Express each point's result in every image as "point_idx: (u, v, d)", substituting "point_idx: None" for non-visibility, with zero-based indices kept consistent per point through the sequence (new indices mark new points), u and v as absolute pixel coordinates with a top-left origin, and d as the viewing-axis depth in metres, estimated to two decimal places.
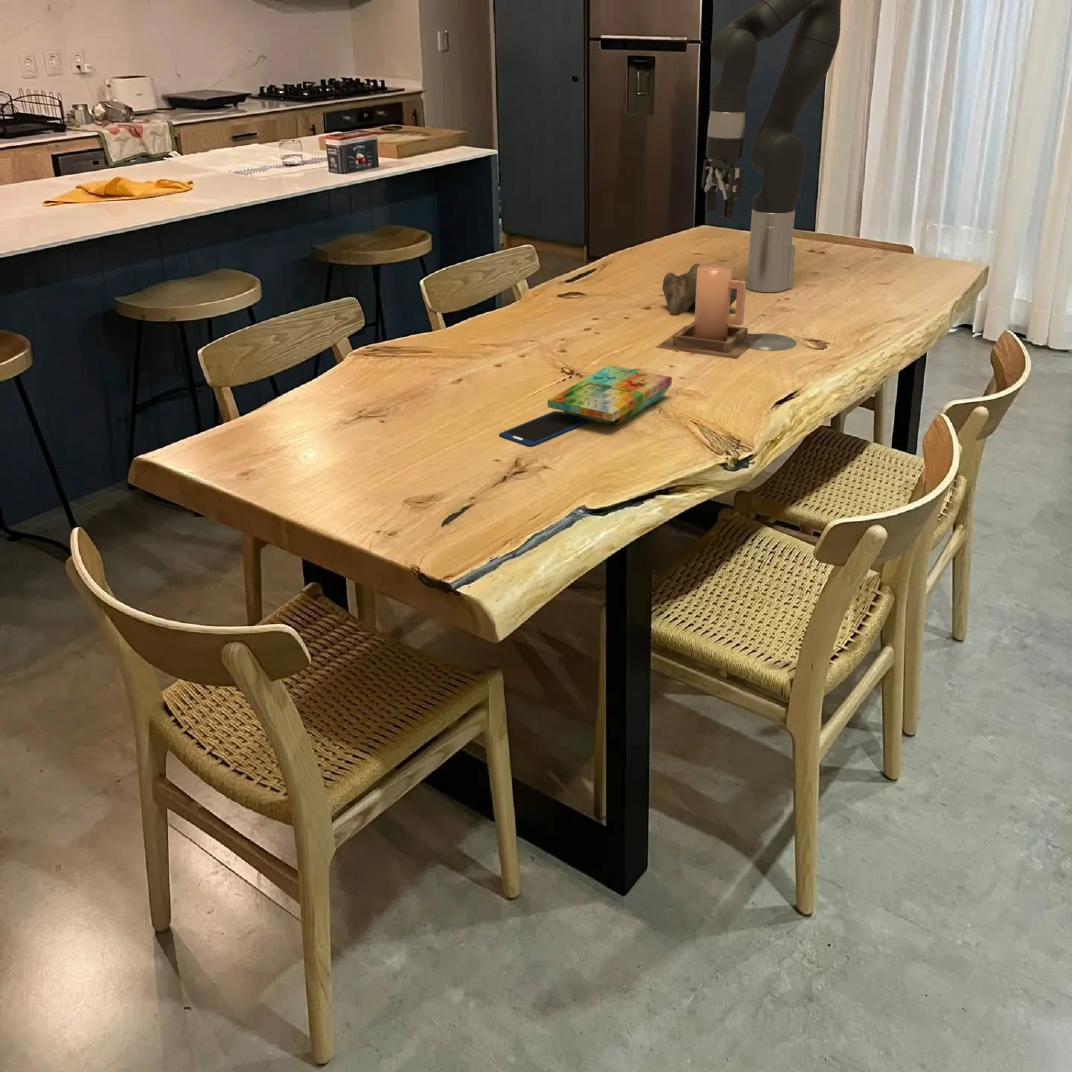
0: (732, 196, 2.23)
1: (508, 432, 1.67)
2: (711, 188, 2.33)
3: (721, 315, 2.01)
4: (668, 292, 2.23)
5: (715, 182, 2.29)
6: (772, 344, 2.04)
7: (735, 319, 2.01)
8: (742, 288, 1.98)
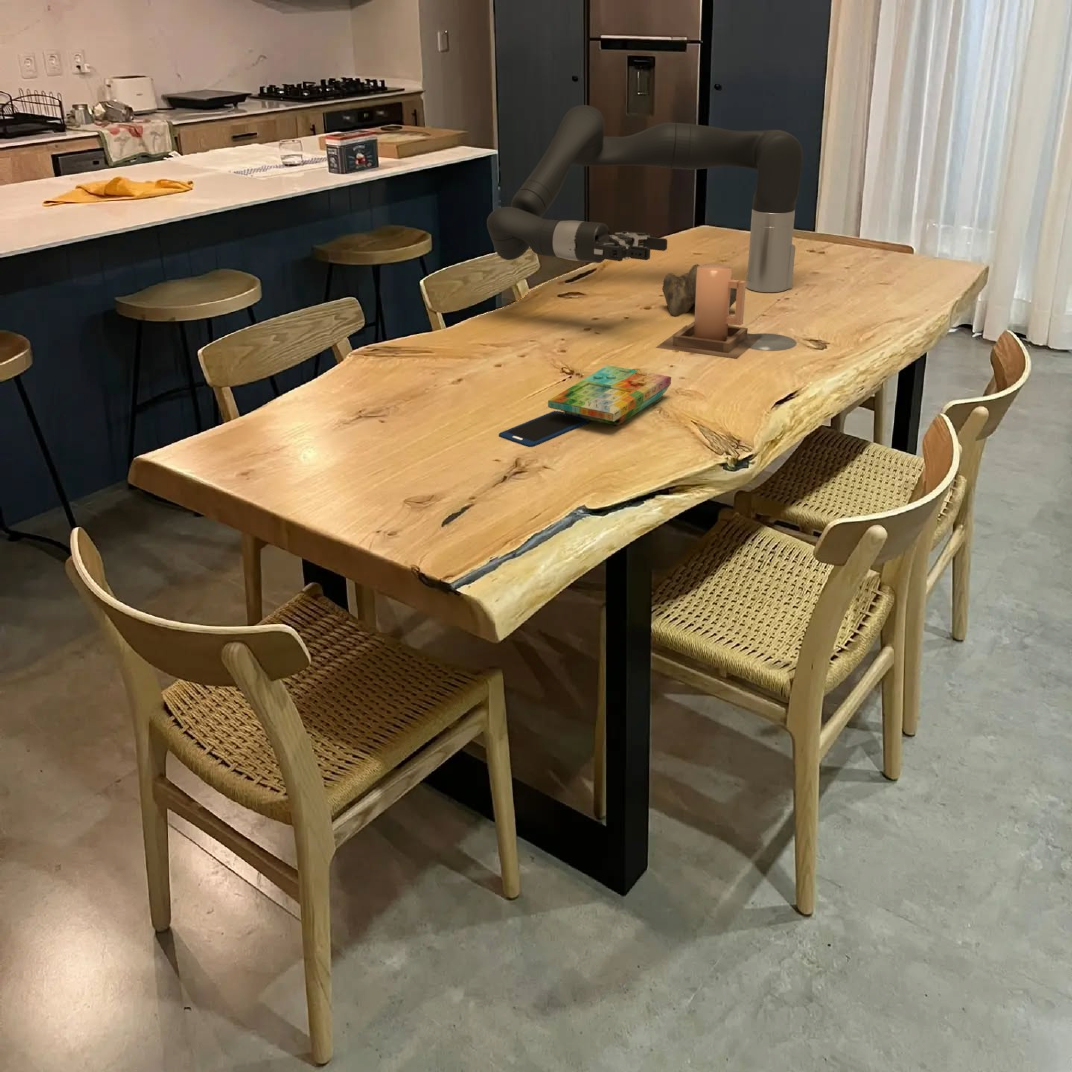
0: None
1: (508, 432, 1.67)
2: None
3: (721, 314, 2.01)
4: (668, 293, 2.23)
5: (625, 241, 2.05)
6: (772, 344, 2.04)
7: (735, 319, 2.01)
8: (742, 288, 1.98)
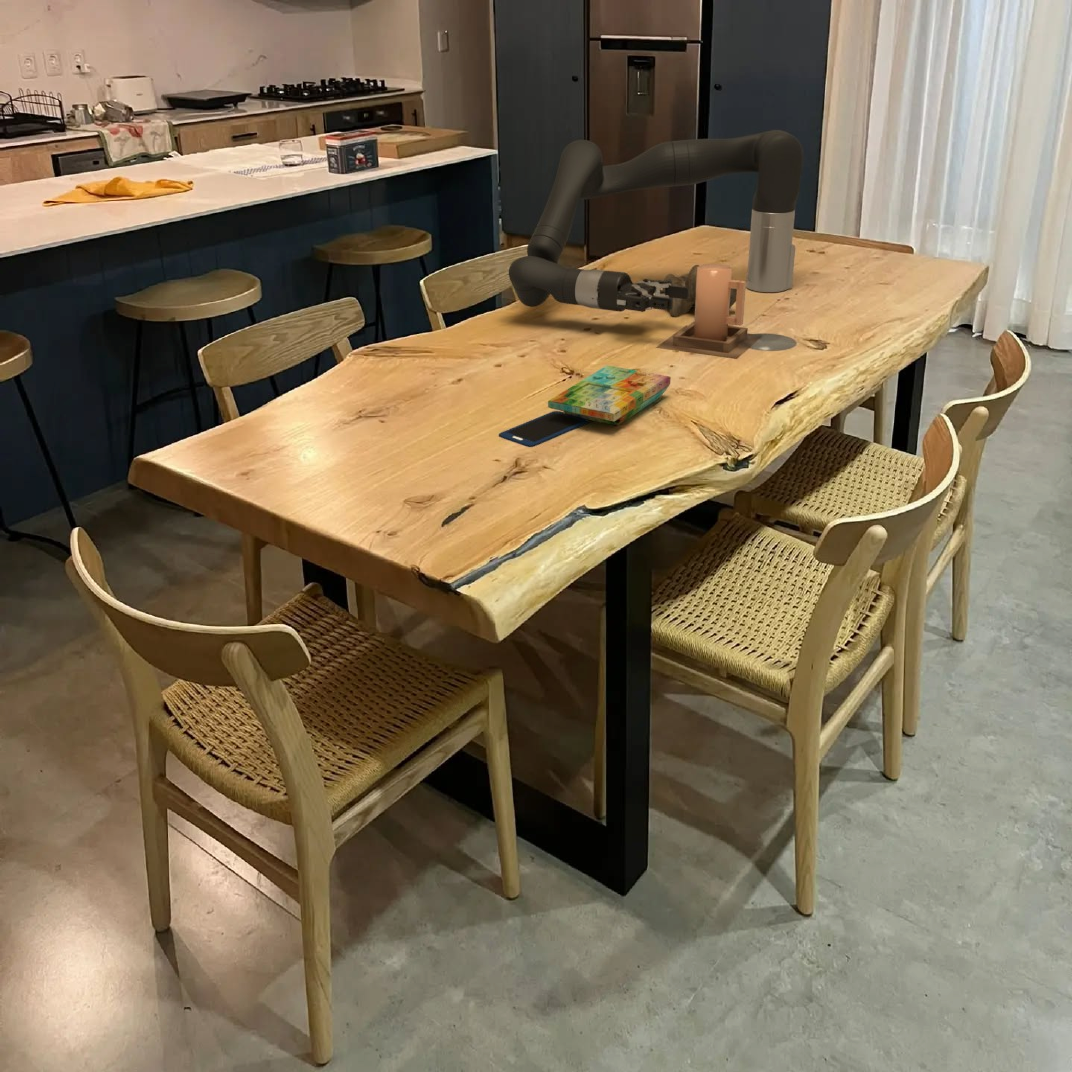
0: None
1: (508, 432, 1.67)
2: None
3: (721, 315, 2.01)
4: None
5: (647, 290, 2.07)
6: (772, 344, 2.04)
7: (735, 319, 2.01)
8: (742, 288, 1.98)
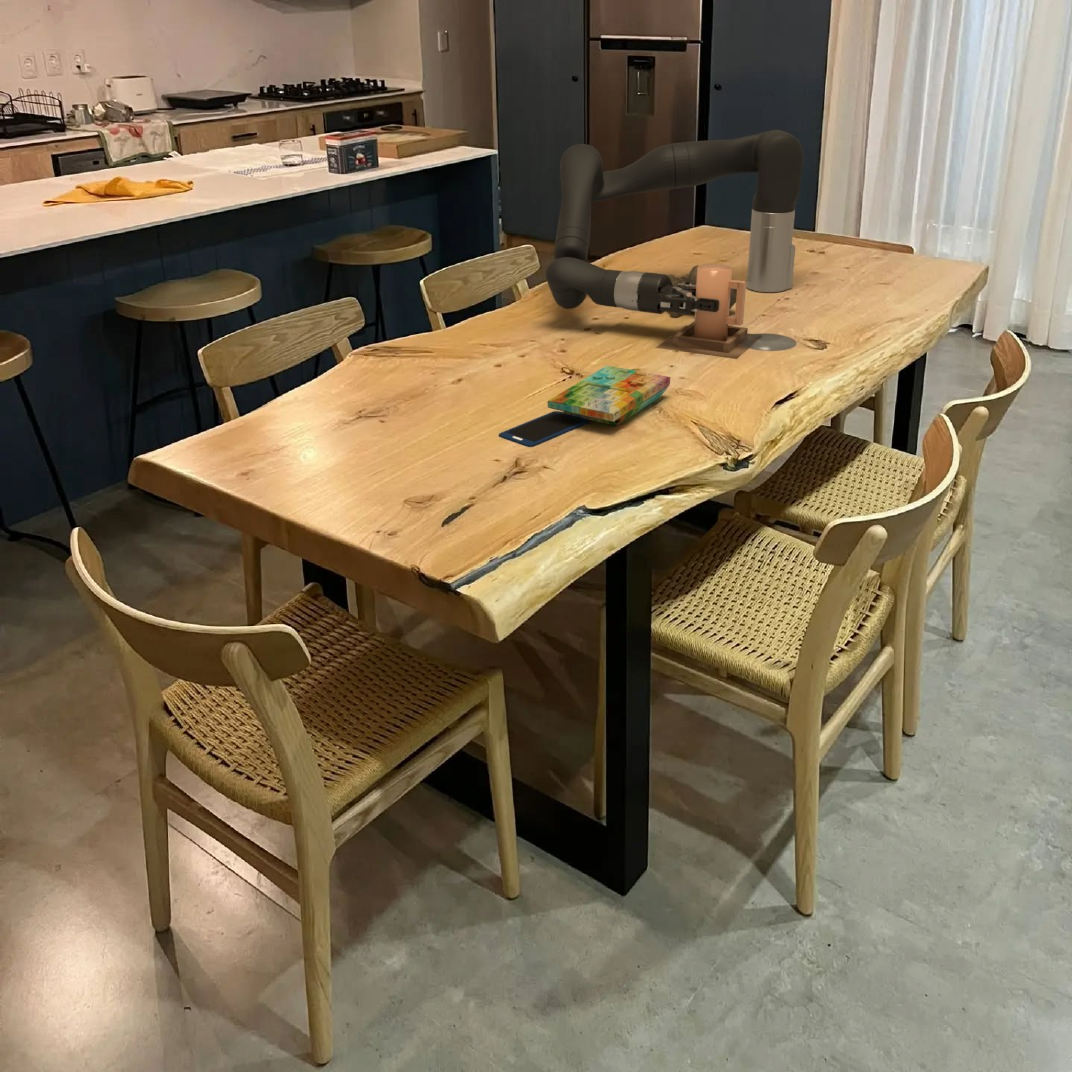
0: None
1: (508, 432, 1.67)
2: None
3: (721, 315, 2.01)
4: None
5: (688, 292, 2.04)
6: (772, 344, 2.04)
7: (735, 319, 2.01)
8: (742, 288, 1.98)
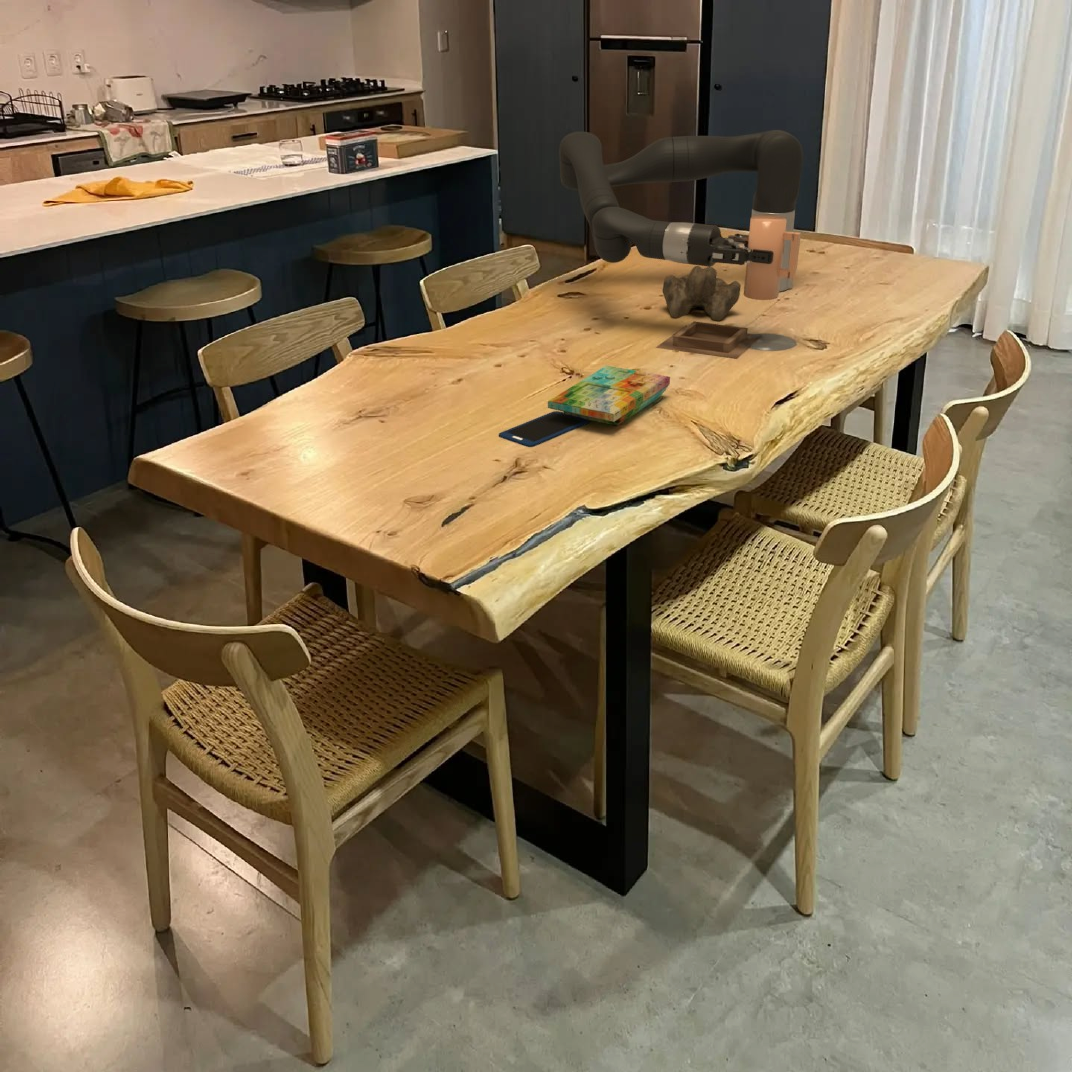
0: None
1: (508, 432, 1.67)
2: None
3: (774, 267, 1.96)
4: (669, 295, 2.21)
5: None
6: (772, 344, 2.04)
7: (788, 272, 1.96)
8: (797, 240, 1.93)
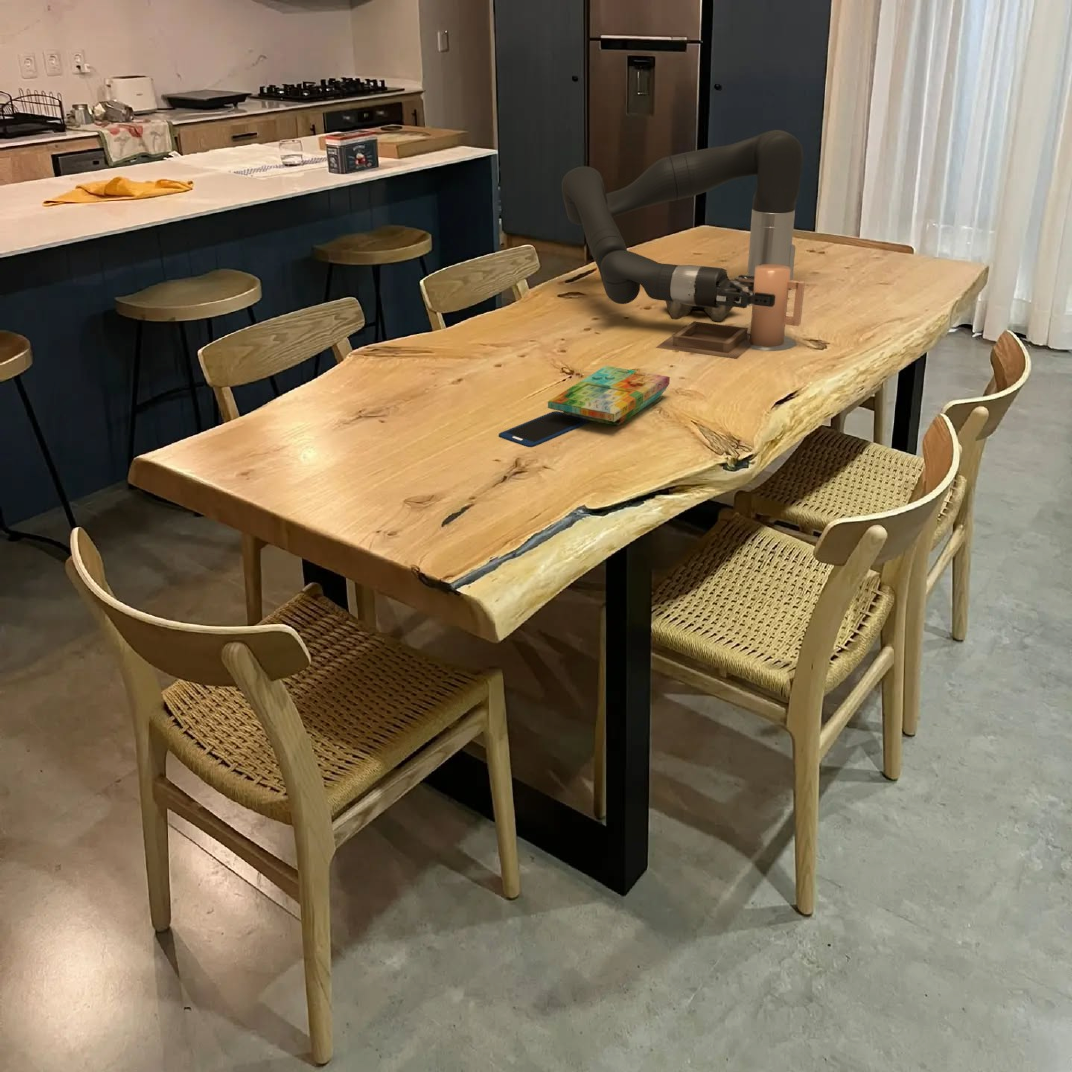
0: None
1: (508, 432, 1.67)
2: None
3: (779, 315, 2.00)
4: None
5: (746, 286, 2.02)
6: None
7: (793, 319, 2.00)
8: (801, 288, 1.97)
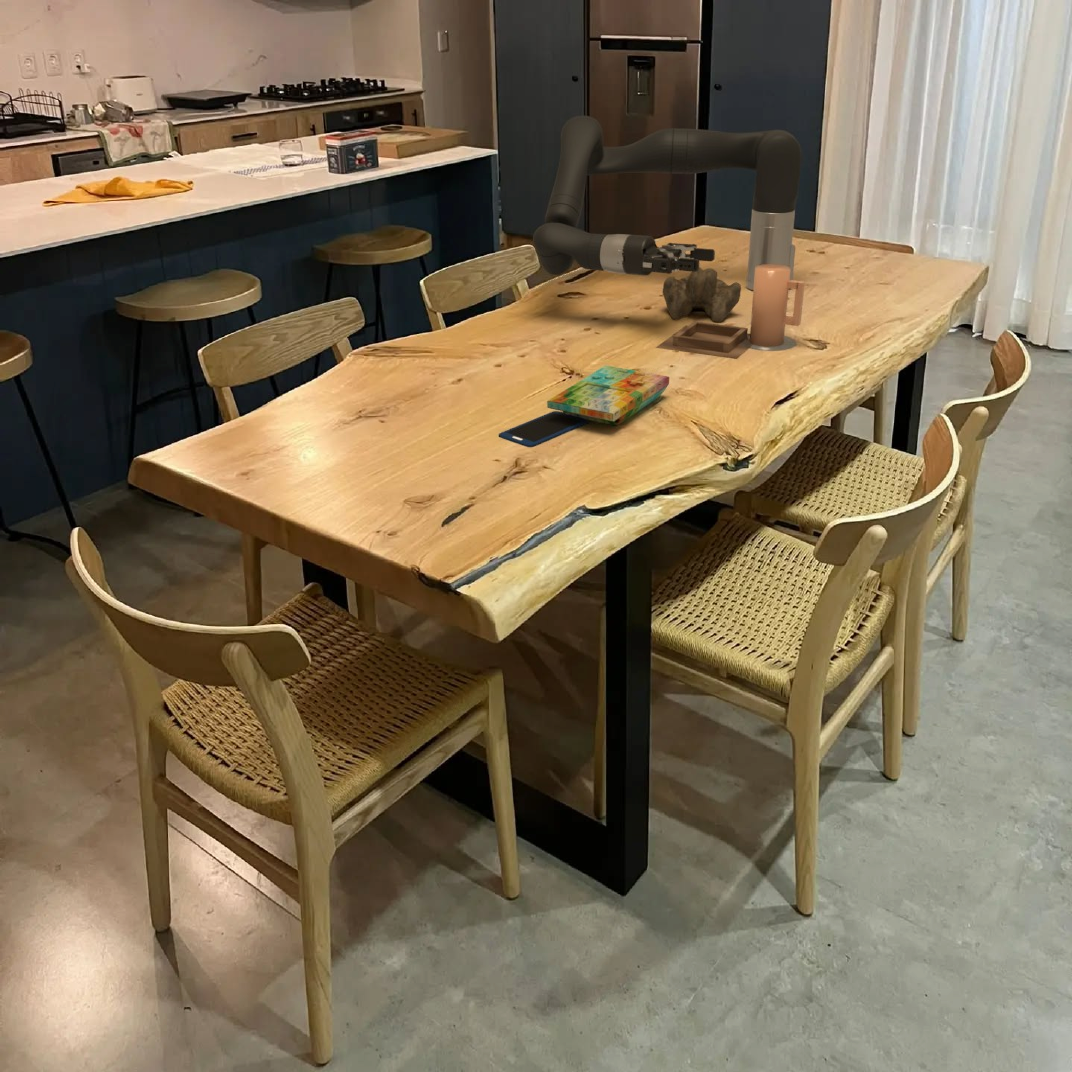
0: None
1: (508, 432, 1.67)
2: None
3: (778, 315, 2.00)
4: (669, 296, 2.21)
5: (673, 253, 2.06)
6: None
7: (793, 319, 2.00)
8: (801, 288, 1.97)
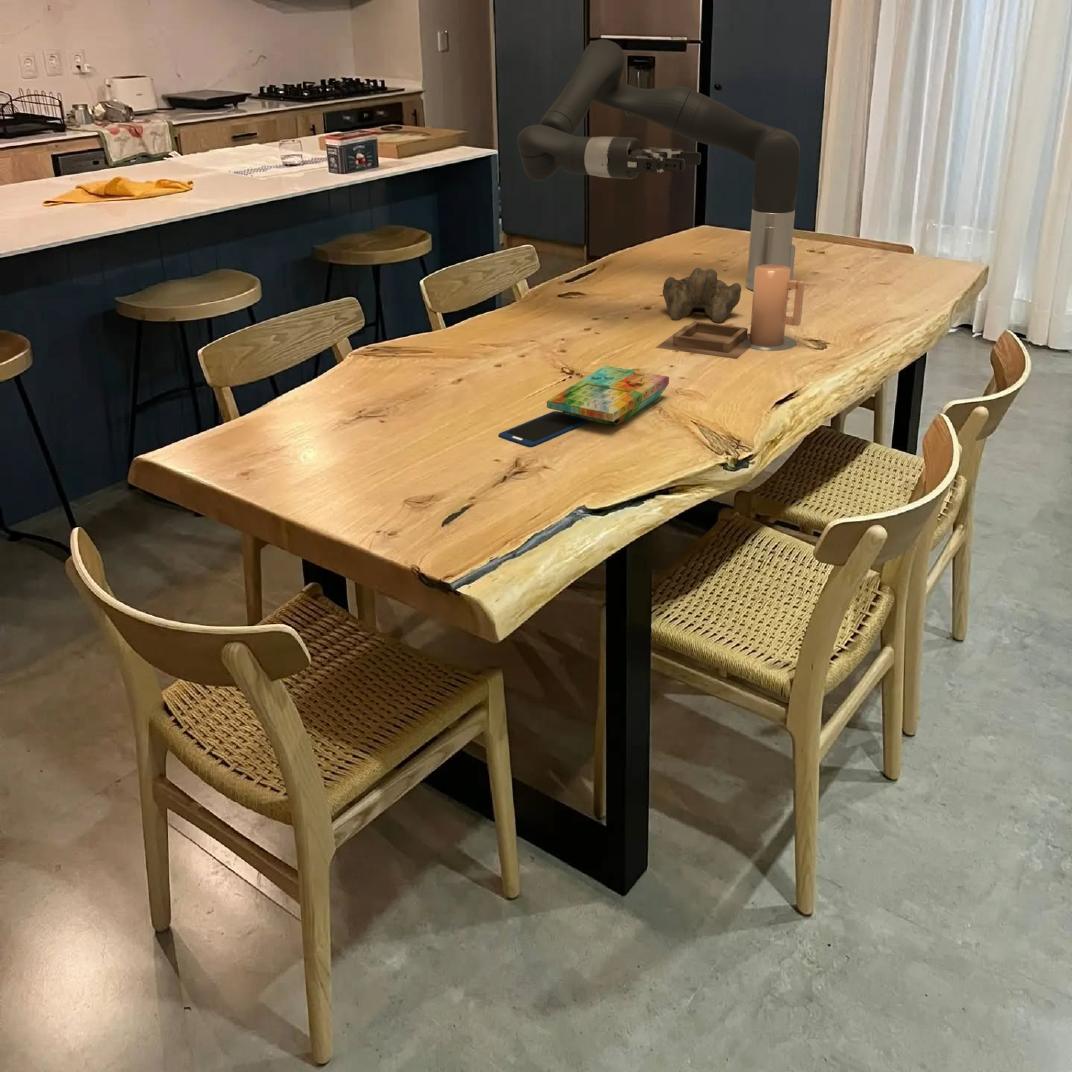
0: None
1: (508, 432, 1.67)
2: None
3: (778, 315, 2.00)
4: (669, 297, 2.20)
5: (658, 154, 2.02)
6: None
7: (793, 319, 2.00)
8: (801, 288, 1.97)
